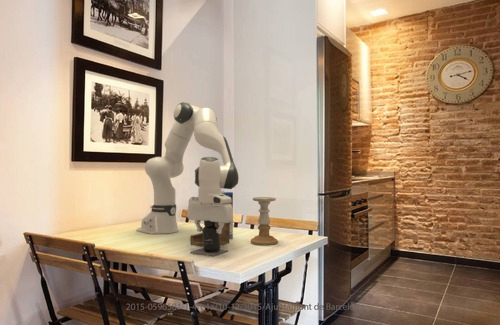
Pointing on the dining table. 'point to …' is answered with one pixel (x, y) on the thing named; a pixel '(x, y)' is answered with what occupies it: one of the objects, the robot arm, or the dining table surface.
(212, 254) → the slate mat
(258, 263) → the dining table surface
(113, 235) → the dining table surface
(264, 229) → the candle holder
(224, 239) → the walnut cubby
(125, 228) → the dining table surface
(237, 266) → the dining table surface
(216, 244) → the supplement bottle
